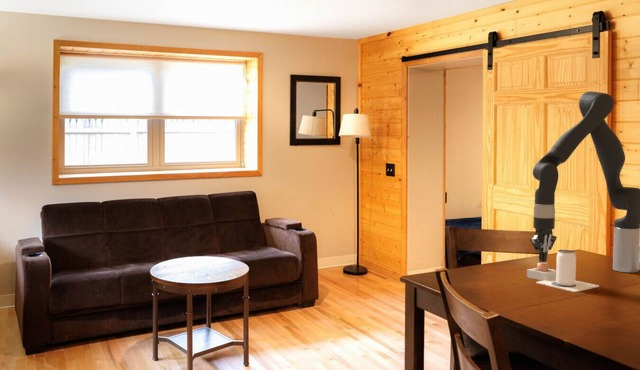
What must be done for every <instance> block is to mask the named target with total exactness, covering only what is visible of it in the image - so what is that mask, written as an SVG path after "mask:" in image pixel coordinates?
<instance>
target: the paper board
mask: <svg viewBox="0 0 640 370" xmlns="http://www.w3.org/2000/svg"><path fill="white" fill-rule="evenodd" d="M535 284H537V285H542V286H547V287H551V288H556V289H559V290H562V291H568V292H572V293H579V292H583V291H586V290H591V289H595V288H599V287H600V285H599V284H593V283H589V282H585V281H584V282H583V281H580V280H575V285H574V286H562V285H558V284H557V283H556V278H554V279H549V280H544V281H541V280H538V281H536V282H535Z"/></svg>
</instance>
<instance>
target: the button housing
mask: <svg viewBox="0 0 640 370" xmlns="http://www.w3.org/2000/svg"><path fill="white" fill-rule="evenodd" d="M526 277H527V278H529V279H532V280H537V281H544V280H549V279H554V278H556V269H554V268H553V269H552V268H548V271H547V272H542V271H537V267H534V268H527V270H526Z"/></svg>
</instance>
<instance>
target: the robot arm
mask: <svg viewBox="0 0 640 370" xmlns="http://www.w3.org/2000/svg"><path fill="white" fill-rule="evenodd" d="M614 106H615V100H614V97H613V96H612V95H611V94H609V93H605V92H599V91H586V92H584V93H583V94H581V96H580V98H579V101H578V109H579V112H580V113H581V116H582V119H581V120H580V121H579V122H578V123H576V124H575V125H574V126H573V127H570V129H568V130H567V131H565V132H564V133H563V134H562V135H561V136H560V137H559V138H558V139H557V141H555V143H554V144H553V146H552V147H551V149H550V150H549V151H548V152H547V153H545V155H544V156H542V157H541V158H540V159H539V160H538V161H537V163H535V165H534V167H533V169H532V176H533V178H534V179H535V180H537V181H539V183H538V188H536V190H535V192H534V206H533V223H532V226H533V229H535V232H534V237H530V240H529V241H530V242H531V244H532V246H533V248H534V250H535V251H537V252H538V262H539V263H540V262H542V263H547V261H548V252H549V251H551V250H552V248H553V246H554V245H555V242H556V240H557V237H558V236H555V235H554V234H553V233H554V232H553V230H554V229H555V227H556V226H555V225H556V223H555V222H556V221H555V219H556V207H555V199H556V195H555V194H556V189H557V185H558V182H559V170H558V167H559V166H560V165H561V164H564V163H566V162H567V161H568V160H569V158H570V157H571V155H572V154H573V153H574V152H575V150H576V149H577V148H578V146H579V145H580V144H581V143H582V142H583V141H584V139H586V138H587V137H588V136H589V134H590V138H591V140H592V142H593V143H592V144H593V146H594V150H595V152H596V155H597V159H598V161H599V164H600V166H601V169H602V172H603V176H604V179H605V184H606V189H607V193H608V198H609V201H610V204H611V206H612V208H614V209H616V210H621V211H626V214H625V216H622V217H620V218H616V219H615V220H614V223H613V249H612V270H613V271H616V272H621V273H638V272H639V271H640V188H639V187H634V186H632V187H631V186H623V184H622V182H621V175H620V174H621V172H622V169H623V167H624V164H625V162H626V155H625V151H624V147H623V145H622V142H621V140H620V139H619V138H618V136H617V135H616V133H615V132H614V131H613V130H612V128H611V127H610V126H609V125H608V123H607V122H606V118H607V117H608V116H609V115H610V114H611V113H612V112H613V109H614Z"/></svg>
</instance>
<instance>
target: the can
mask: <svg viewBox="0 0 640 370" xmlns="http://www.w3.org/2000/svg"><path fill="white" fill-rule="evenodd" d="M557 251H558V252H557V254H556V262H555V263H556V265H555V266H556V268H555V270H556V283H557V284H558V285H562V286H574V285H575V281H577V280H576V274H577V255H576V251H574V250H571V249H559V250H557Z"/></svg>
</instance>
